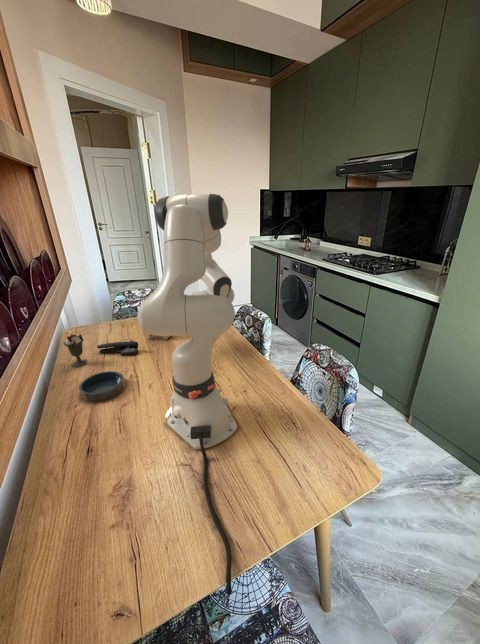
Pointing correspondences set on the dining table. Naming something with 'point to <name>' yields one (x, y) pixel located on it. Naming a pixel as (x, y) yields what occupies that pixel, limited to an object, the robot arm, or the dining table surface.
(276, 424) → the dining table surface
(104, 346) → the can opener
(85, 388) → the dish
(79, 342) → the sundae
